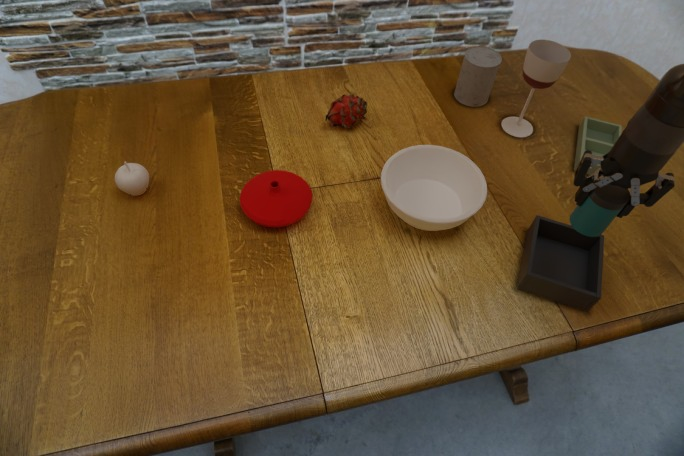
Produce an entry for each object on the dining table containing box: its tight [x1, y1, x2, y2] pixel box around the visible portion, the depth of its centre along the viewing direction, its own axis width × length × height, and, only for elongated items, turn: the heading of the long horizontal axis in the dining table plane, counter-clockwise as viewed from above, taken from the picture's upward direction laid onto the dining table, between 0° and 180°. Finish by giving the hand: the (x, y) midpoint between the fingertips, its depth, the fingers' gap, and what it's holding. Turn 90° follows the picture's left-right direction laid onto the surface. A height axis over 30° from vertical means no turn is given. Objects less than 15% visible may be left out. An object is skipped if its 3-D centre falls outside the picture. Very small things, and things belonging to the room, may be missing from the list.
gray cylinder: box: [453, 45, 503, 108], centre depth 124 cm, size 10×10×12 cm
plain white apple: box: [114, 161, 150, 197], centre depth 101 cm, size 7×7×8 cm
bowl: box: [380, 144, 488, 232], centre depth 100 cm, size 22×22×8 cm
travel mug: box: [569, 184, 631, 237], centre depth 81 cm, size 6×6×9 cm
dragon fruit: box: [324, 93, 368, 130], centre depth 117 cm, size 8×8×12 cm
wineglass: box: [500, 39, 572, 138], centre depth 113 cm, size 9×10×22 cm
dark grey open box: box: [516, 214, 605, 313], centre depth 92 cm, size 14×16×6 cm
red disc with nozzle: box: [239, 169, 313, 228], centre depth 100 cm, size 16×16×7 cm
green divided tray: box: [573, 115, 623, 177], centre depth 115 cm, size 9×18×4 cm, turn 159°
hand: (598, 207), depth 81 cm, fingers closed on travel mug, 6 cm apart
